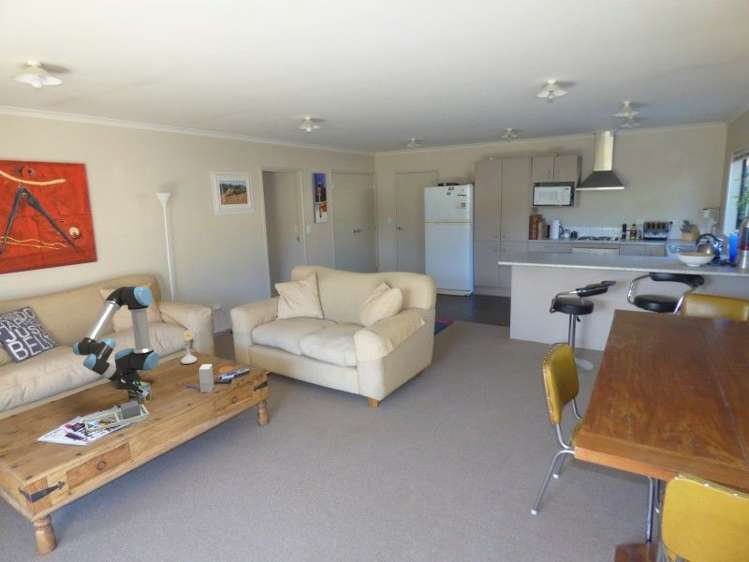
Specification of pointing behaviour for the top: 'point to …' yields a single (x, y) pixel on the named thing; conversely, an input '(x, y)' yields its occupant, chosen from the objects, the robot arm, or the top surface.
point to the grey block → (130, 410)
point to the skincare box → (206, 378)
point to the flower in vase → (188, 357)
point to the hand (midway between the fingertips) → (144, 390)
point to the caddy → (143, 416)
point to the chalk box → (139, 397)
